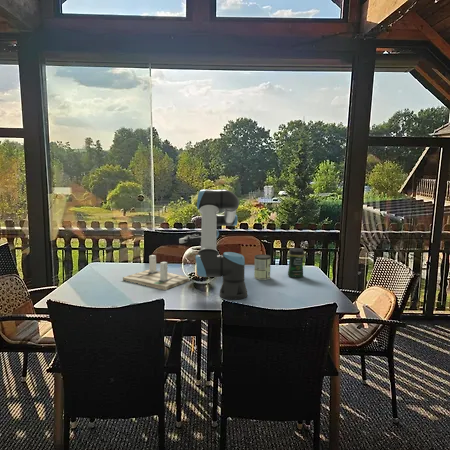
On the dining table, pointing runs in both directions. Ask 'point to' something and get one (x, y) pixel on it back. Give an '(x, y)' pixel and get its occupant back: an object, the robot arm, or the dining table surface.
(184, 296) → the dining table surface
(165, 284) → the striped wooden board
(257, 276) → the coffee can
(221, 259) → the robot arm
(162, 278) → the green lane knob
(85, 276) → the dining table surface
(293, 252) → the coffee jar
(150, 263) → the grey lane knob
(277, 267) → the dining table surface
